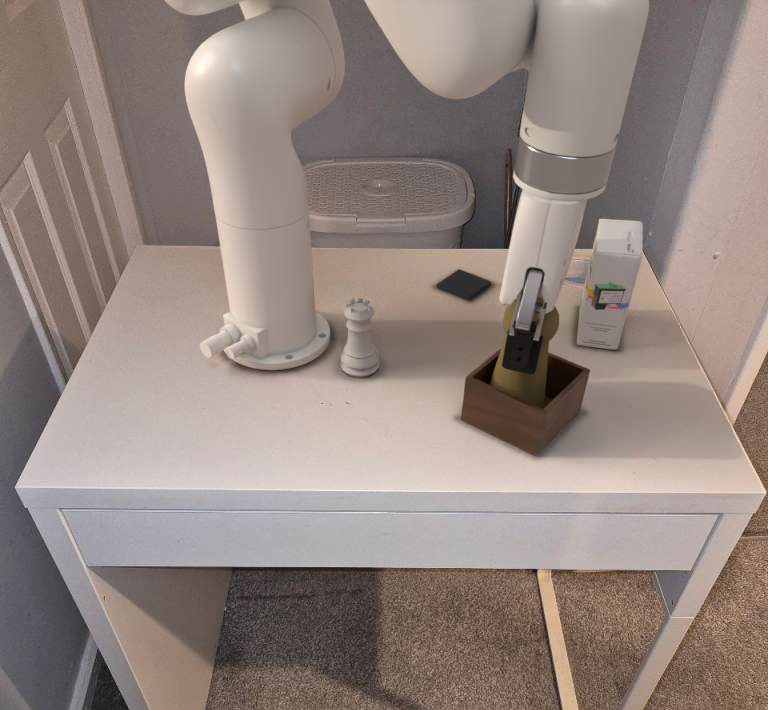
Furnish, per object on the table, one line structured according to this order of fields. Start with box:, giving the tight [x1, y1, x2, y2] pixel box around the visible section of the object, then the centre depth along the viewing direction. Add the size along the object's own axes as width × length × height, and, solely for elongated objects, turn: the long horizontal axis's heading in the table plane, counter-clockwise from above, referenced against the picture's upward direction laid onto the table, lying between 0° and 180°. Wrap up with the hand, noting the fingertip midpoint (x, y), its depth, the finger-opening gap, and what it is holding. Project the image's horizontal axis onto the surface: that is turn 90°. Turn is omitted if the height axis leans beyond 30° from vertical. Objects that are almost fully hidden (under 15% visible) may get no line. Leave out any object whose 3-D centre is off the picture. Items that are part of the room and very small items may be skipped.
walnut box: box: [460, 348, 591, 457], centre depth 77 cm, size 9×9×5 cm
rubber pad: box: [436, 269, 492, 301], centre depth 97 cm, size 5×5×1 cm
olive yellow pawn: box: [489, 298, 560, 409], centre depth 74 cm, size 6×6×11 cm
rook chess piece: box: [339, 296, 381, 379], centre depth 82 cm, size 4×4×8 cm
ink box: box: [576, 218, 644, 351], centre depth 87 cm, size 8×5×12 cm, turn 167°
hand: (525, 350), depth 74 cm, fingers closed on olive yellow pawn, 5 cm apart
